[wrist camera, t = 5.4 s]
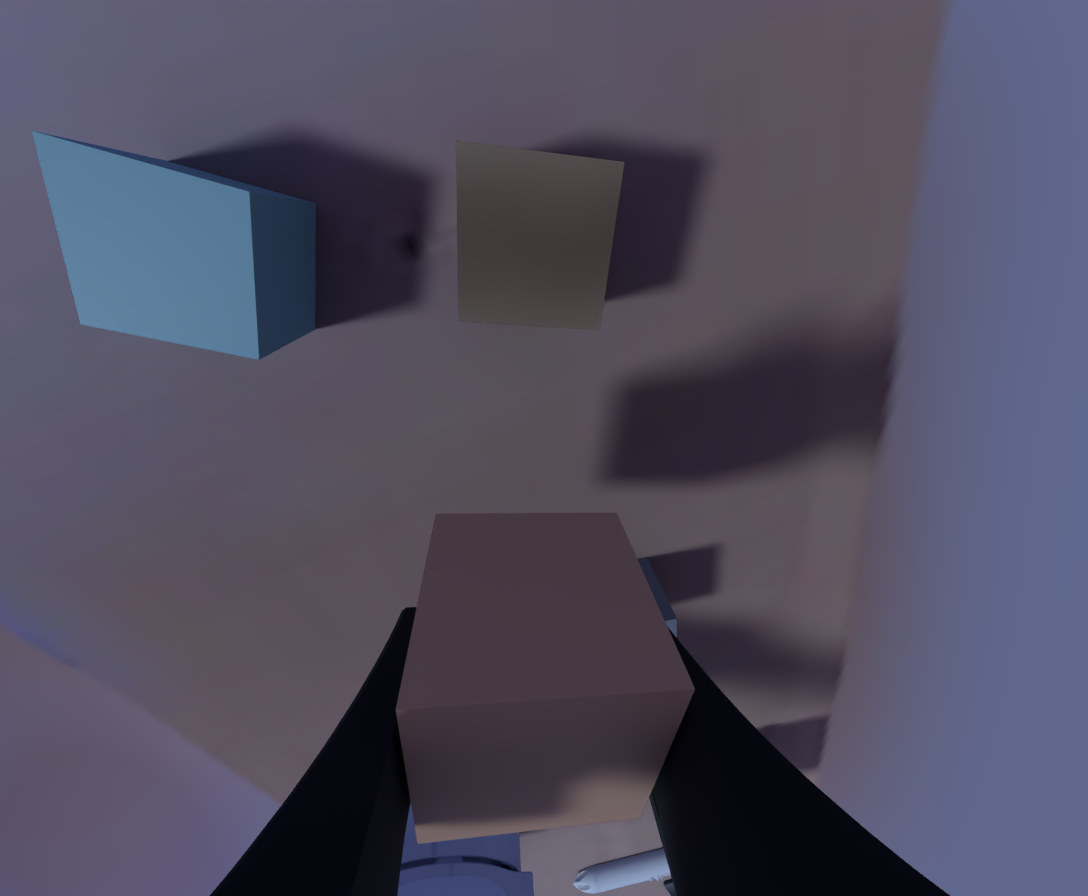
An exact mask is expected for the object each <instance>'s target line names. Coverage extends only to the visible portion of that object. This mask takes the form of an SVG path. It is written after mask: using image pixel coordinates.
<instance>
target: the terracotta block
mask: <svg viewBox="0 0 1088 896" xmlns="http://www.w3.org/2000/svg"><path fill="white" fill-rule="evenodd" d="M694 690H695V688H694V685H693V683H692V681H691V679H690V676H689V674H688V672H687V670H686V667H685V665H684V663H683V661H682V659H681V656H680V654H679V652H678V650H677V647H676V645H675V643H674V641H673V638H672V636H671V634H670V632H669V629H668V627H667V625H666V623H665V620H664V618H663V616H662V614H661V611H660V609H659V607H658V605H657V602H656V600H655V598H654V596H653V593H652V591H651V589H650V587H649V584H648V582H647V580H646V578H645V575H644V573H643V571H642V569H641V566H640V564H639V562H638V560H637V557H636V555H635V553H634V551H633V548H632V546H631V544H630V542H629V539H628V537H627V535H626V533H625V530H624V528H623V526H622V524H621V521H620V519H619V517H618V515H617V513H487V514H436V516H435V521H434V525H433V530H432V535H431V540H430V545H429V550H428V555H427V560H426V564H425V569H424V574H423V579H422V584H421V589H420V594H419V599H418V603H417V608H416V613H415V618H414V623H413V628H412V633H411V638H410V642H409V647H408V652H407V657H406V662H405V667H404V672H403V677H402V681H401V686H400V691H399V696H398V701H397V706H396V715H397V721H398V728H399V734H400V740H401V746H402V752H403V758H404V764H405V770H406V776H407V782H408V789H409V795H410V801H411V807H412V813H413V819H414V825H415V831H416V837H417V843H418V844H422V843H430V842H439V841H448V840H456V839H465V838H474V837H482V836H491V835H500V834H508V833H517V832H526V831H534V830H543V829H552V828H561V827H569V826H578V825H587V824H595V823H604V822H613V821H621V820H630V819H639V818H640V817H641V815H642V813H643V810H644V808H645V806H646V803H647V801H648V799H649V796H650V794H651V792H652V789H653V787H654V784H655V782H656V780H657V777H658V775H659V773H660V770H661V768H662V766H663V763H664V761H665V759H666V756H667V754H668V752H669V749H670V747H671V744H672V742H673V740H674V737H675V735H676V733H677V730H678V728H679V726H680V723H681V721H682V719H683V716H684V714H685V712H686V709H687V707H688V705H689V702H690V700H691V697H692V695H693V693H694Z"/></svg>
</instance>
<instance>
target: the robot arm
mask: <svg viewBox="0 0 1088 896" xmlns="http://www.w3.org/2000/svg"><path fill="white" fill-rule="evenodd" d="M416 608H417V607H410V608H405V609H404V610H402V612H401V614H400V616H399V619H398V621H397V623H396V625H395V627H394V629H393V631H392V633H391V635H390V637H389V639H388V641H387V643H386V645H385V647H384V649H383V651H382V653H381V654H380V656H379V658H378V660H377V662H376V664H375V665H374V667H373V669H372V670H371V672H370V674H369V675H368V677H367V679H366V681H365V682H364V684H363V686H362V687H361V689H360V691H359V693H358V694H357V696H356V698H355V699H354V701H353V702H352V704H351V706H350V707H349V709H348V710H347V712H346V713H345V715H344V716H343V718H342V719H341V721H340V723H339V724H338V726H337V727H336V729H335V730H334V732H333V733H332V735H331V736H330V738H329V739H328V741H327V743H326V744H325V746H324V747H323V748H322V750H321V751H320V753H319V754H318V756H317V757H316V759H315V760H314V761H313V763H312V764H311V766H310V767H309V769H308V770H307V771H306V773H305V774H304V776H303V777H302V778H301V780H300V781H299V782H298V784H297V785H296V787H295V788H294V789H293V791H292V792H291V793H290V795H289V796H288V798H287V799H286V800H285V802H284V803H283V804H282V806H281V807H280V808H279V810H278V811H277V812H276V813H275V815H274V816H273V817H272V819H271V820H270V821H269V822H268V824H267V825H266V826H265V828H264V829H263V830H262V832H261V833H260V834H259V836H258V837H257V838H256V839H255V841H254V842H253V843H252V845H251V846H250V847H249V848H248V850H247V851H246V852H245V853H244V855H243V856H242V857H241V859H240V860H239V861H238V862H237V863H236V865H235V866H234V867H233V868H232V870H231V871H230V872H229V873H228V875H227V876H226V877H225V878H224V879H223V881H222V882H221V883H220V884H219V886H217V888H216V889H215V890H214V891H213V892H212V894H211V895H210V896H534V890H533V874H532V872H521V862H520V839H519V832H517V833H508V834H500V835H491V836H482V837H474V838H465V839H456V840H448V841H439V842H430V843H422V844H418V843H417V837H416V831H415V825H414V819H413V813H412V807H411V801H410V795H409V789H408V782H407V776H406V770H405V764H404V758H403V752H402V746H401V740H400V734H399V728H398V721H397V715H396V706H397V701H398V696H399V691H400V686H401V681H402V677H403V672H404V667H405V662H406V657H407V652H408V647H409V642H410V638H411V633H412V628H413V623H414V618H415V613H416ZM667 627H668V626H667ZM668 629H669V627H668ZM669 632H670V634H671V636H672V638H673V641H674V643H675V645H676V647H677V650H678V652H679V654H680V656H681V659H682V661H683V663H684V665H685V667H686V670H687V672H688V674H689V676H690V679H691V681H692V683H693V685H694V688H695V690H694V693H693V695H692V697H691V700H690V702H689V705H688V707H687V709H686V712H685V714H684V716H683V719H682V721H681V723H680V726H679V728H678V730H677V733H676V735H675V737H674V740H673V742H672V744H671V747H670V749H669V752H668V754H667V756H666V759H665V761H664V763H663V766H662V768H661V770H660V773H659V775H658V777H657V780H656V782H655V784H654V787H653V789H652V792H653V796H654V799H655V803H656V806H657V810H658V814H659V818H660V823H661V827H662V831H663V836H664V840H665V844H666V848H667V853H668V857H669V861H670V866H671V870H672V875H673V880H674V884H675V889H676V893H677V896H950V895H948V894H947V893H946V892H944V891H943V890H942V889H940V888H939V887H938V886H936V885H935V884H934V883H932V882H931V881H929V880H928V879H927V878H926V877H924V876H923V875H922V874H920V873H919V872H918V871H917V870H915V869H914V868H912V867H911V866H910V865H909V864H908V863H906V862H905V861H904V860H903V859H901V858H900V857H899V856H898V855H896V854H895V853H894V852H893V851H892V850H890V849H889V848H888V847H886V846H885V845H884V844H883V843H882V842H880V841H879V840H878V839H877V838H875V837H874V836H873V835H872V834H871V833H869V832H868V831H867V830H866V829H864V828H863V827H862V826H861V825H860V824H859V823H858V822H857V821H855V820H854V819H853V818H852V817H851V816H850V815H848V814H847V813H846V812H845V811H844V810H843V809H842V808H840V807H839V806H838V805H837V804H836V803H835V802H833V801H832V800H831V799H830V798H829V797H828V796H827V795H825V794H824V793H823V792H822V791H821V790H820V789H819V788H817V787H816V786H815V785H814V784H813V783H812V782H811V781H810V780H809V779H807V778H806V777H805V776H804V775H803V774H802V773H801V772H800V771H799V770H798V769H797V768H796V767H795V766H794V765H793V764H792V763H790V762H789V761H788V760H787V759H786V758H785V757H784V756H783V755H782V754H781V753H780V752H779V751H778V750H777V749H776V748H775V747H774V746H773V745H772V744H771V743H770V742H769V741H768V740H767V739H766V738H765V737H764V736H763V735H762V734H761V733H760V732H759V731H758V730H757V729H756V728H755V727H754V726H753V725H752V724H751V723H750V722H749V721H748V720H747V719H746V718H745V717H744V715H743V714H742V713H741V712H740V711H739V710H738V709H737V708H736V707H735V706H734V705H733V703H732V702H731V701H730V700H729V699H728V698H727V697H726V696H725V695H724V694H723V692H722V691H721V690H720V689H719V688H718V687H717V686H716V685H715V683H714V682H713V681H712V680H711V679H710V678H709V676H708V675H707V674H706V673H705V672H704V670H703V669H702V668H701V667H700V666H699V664H698V663H697V662H696V661H695V660H694V659H693V657H692V656H691V655H690V654H689V652H688V651H687V650H686V649H685V648H684V646H683V645H682V644H681V643H680V641H679V640H678V639H677V637H676V636H675V635H674V634H673V632H672V631H671V630H670V629H669Z"/></svg>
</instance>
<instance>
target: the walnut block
mask: <svg viewBox="0 0 1088 896" xmlns="http://www.w3.org/2000/svg"><path fill="white" fill-rule="evenodd" d="M624 163H625V162H621V161H613V160H605V159H597V158H589V157H581V156H574V155H566V154H558V153H550V152H542V151H534V150H526V149H518V148H510V147H502V146H494V145H486V144H478V143H470V142H462V141H456V174H457V240H458V306H459V321H464V322H480V323H495V324H510V325H526V326H541V327H556V328H572V329H587V330H600V326H601V319H602V312H603V306H604V299H605V292H606V285H607V278H608V272H609V265H610V258H611V251H612V244H613V238H614V231H615V224H616V217H617V210H618V204H619V197H620V190H621V183H622V176H623V170H624Z"/></svg>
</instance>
